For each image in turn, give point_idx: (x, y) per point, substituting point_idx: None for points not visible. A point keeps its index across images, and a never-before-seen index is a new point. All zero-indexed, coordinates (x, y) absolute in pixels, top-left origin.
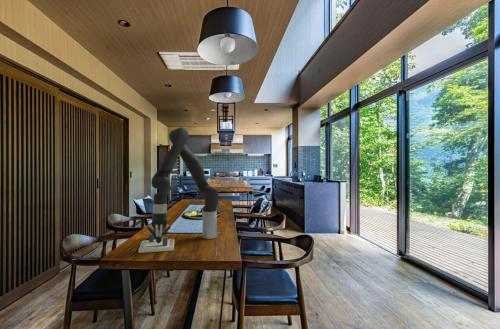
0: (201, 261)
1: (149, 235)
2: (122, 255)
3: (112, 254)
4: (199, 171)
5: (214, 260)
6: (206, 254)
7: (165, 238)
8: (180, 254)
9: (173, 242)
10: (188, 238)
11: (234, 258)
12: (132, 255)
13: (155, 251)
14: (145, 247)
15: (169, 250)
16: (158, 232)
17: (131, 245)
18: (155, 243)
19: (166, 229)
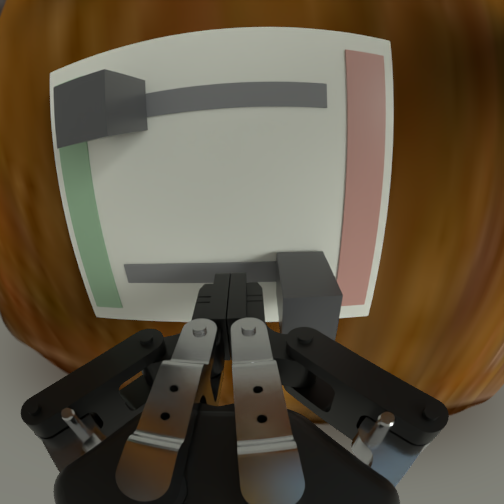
0: None
1: (65, 145)
2: (49, 316)
3: (4, 287)
4: None
5: (455, 404)
6: (471, 362)
7: None
8: (381, 365)
9: (384, 186)
10: (469, 7)
11: (500, 384)
12: (96, 332)
13: None
14: (126, 291)
15: None
16: (211, 363)
17: (10, 117)
18: (184, 181)
19: (348, 435)
